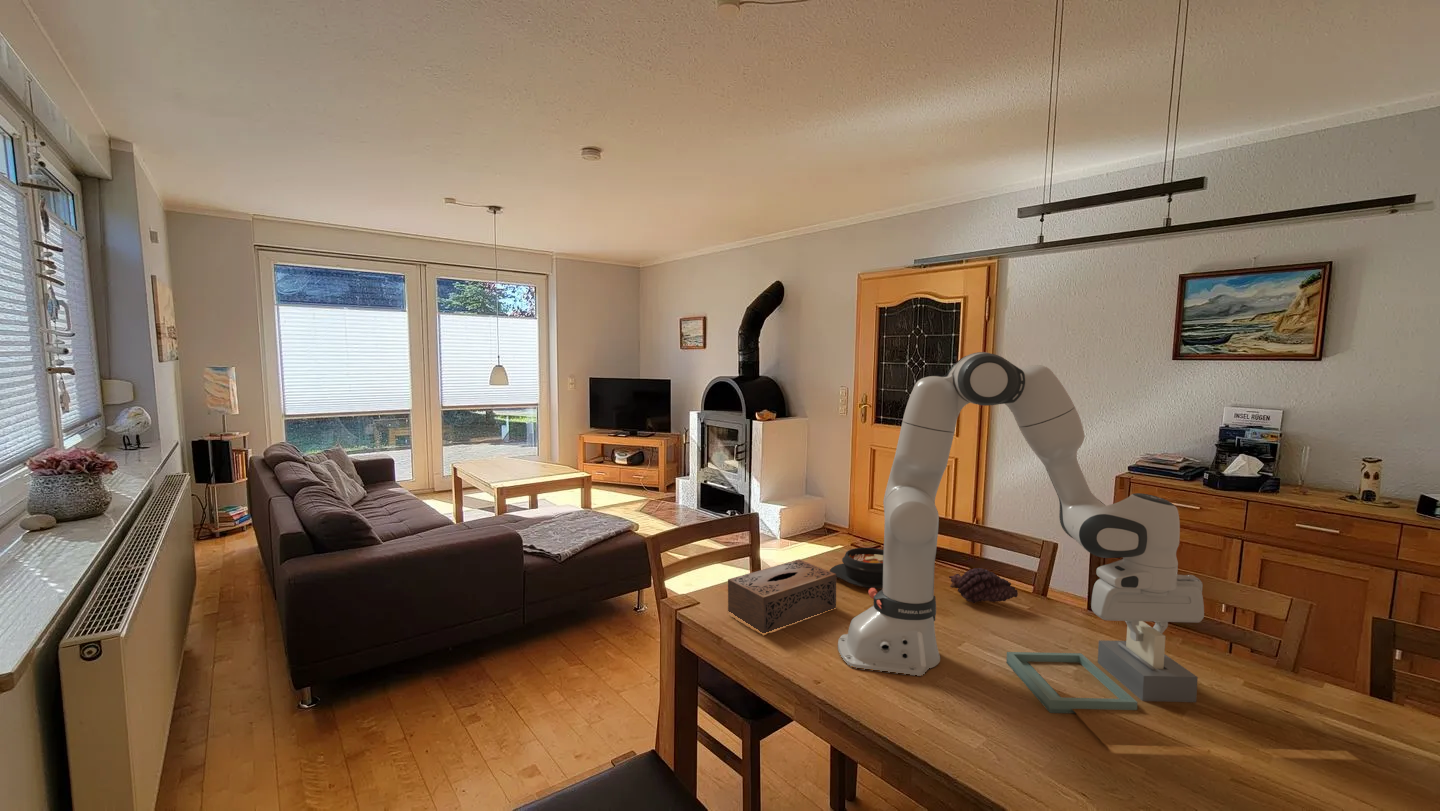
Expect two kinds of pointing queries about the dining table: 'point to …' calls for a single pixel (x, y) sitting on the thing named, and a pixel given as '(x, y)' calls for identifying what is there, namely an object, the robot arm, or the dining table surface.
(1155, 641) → the cream flat slab
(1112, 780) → the dining table surface
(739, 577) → the tissue box cover
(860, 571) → the casserole
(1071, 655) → the teal flat frame
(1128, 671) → the holder
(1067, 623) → the dining table surface
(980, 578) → the pine cone
